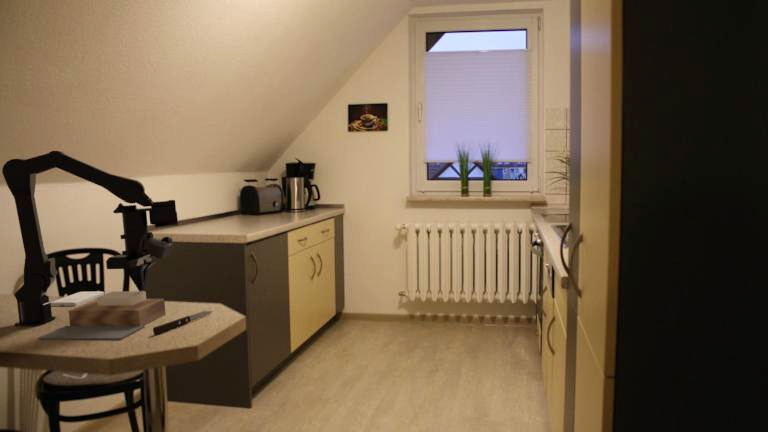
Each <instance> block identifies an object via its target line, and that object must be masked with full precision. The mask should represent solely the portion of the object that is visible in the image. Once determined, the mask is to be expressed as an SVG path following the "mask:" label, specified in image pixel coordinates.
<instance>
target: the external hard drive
mask: <svg viewBox="0 0 768 432" xmlns="http://www.w3.org/2000/svg"><path fill="white" fill-rule="evenodd" d="M102 295H105V292H104V291H78V292H76V293H75V292H74V293H73V294H70V295H67V296H64V297H61V298H59V299H56V300H53V301H49V302H50V303H51V307H62V306H63V307H76V306H77V307H78V306H79V305H80V306H81V305H83V304H86V303H88V302H89V301H90V302H91V301H92V300H93V301H94V300H96V299H97V297H100V296H102Z"/></svg>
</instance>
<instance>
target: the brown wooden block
mask: <svg viewBox="0 0 768 432" xmlns="http://www.w3.org/2000/svg"><path fill="white" fill-rule="evenodd" d="M165 304H166V301H165V298H146V300H143V301H141V302H139V303H137V304H134V305H126V306H98V301H97V299H93V301H92V300H91V301H90V302H89V301H88V302H86V303H83V304H81V305H80V306H79V305H78V306H77V307H74V308H71V309H68V318H69V326H144V327H145V326H146V325H149V324H150V323H152V322H154V321H156V320H157V319H160V318H162V317H163V316H164V317H165V316H166V305H165Z"/></svg>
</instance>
